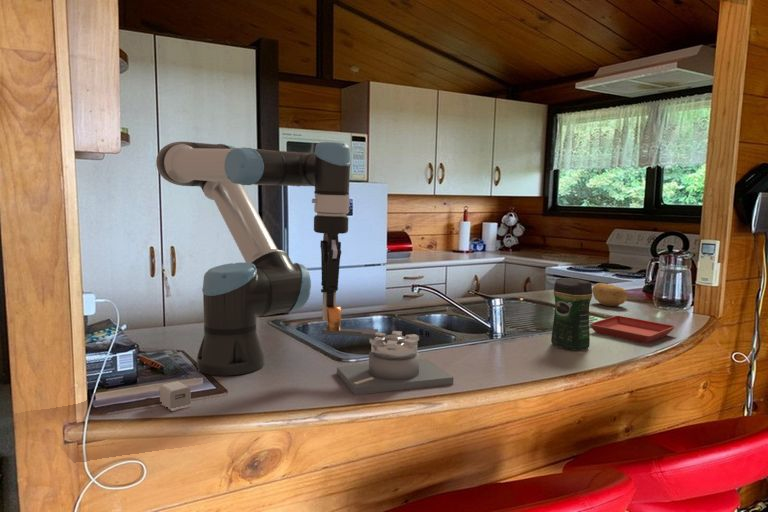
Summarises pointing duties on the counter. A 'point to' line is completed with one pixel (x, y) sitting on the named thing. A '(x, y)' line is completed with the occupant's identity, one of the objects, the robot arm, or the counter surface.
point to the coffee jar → (571, 314)
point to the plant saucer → (631, 329)
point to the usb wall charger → (175, 395)
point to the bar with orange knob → (375, 338)
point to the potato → (609, 294)
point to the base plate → (389, 385)
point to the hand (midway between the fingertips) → (328, 320)
